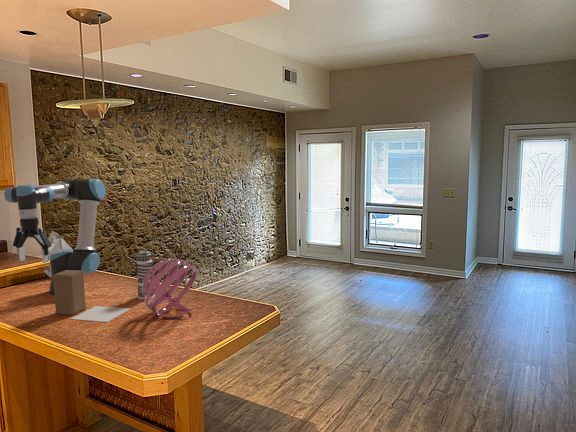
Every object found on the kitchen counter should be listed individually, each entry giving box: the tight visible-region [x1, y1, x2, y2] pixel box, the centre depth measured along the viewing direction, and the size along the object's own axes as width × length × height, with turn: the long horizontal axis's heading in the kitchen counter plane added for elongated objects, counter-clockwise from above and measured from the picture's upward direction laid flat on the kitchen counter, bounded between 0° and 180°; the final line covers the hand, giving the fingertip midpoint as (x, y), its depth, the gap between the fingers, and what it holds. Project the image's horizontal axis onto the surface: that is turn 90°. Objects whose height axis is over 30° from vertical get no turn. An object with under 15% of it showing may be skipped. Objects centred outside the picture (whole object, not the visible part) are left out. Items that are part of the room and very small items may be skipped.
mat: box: [70, 305, 131, 323], centre depth 212 cm, size 18×20×1 cm
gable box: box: [40, 230, 74, 279], centre depth 287 cm, size 22×13×28 cm, turn 42°
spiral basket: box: [142, 257, 198, 319], centre depth 209 cm, size 28×28×27 cm
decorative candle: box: [134, 250, 155, 300], centre depth 235 cm, size 9×9×25 cm
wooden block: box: [53, 270, 87, 316], centre depth 214 cm, size 10×10×20 cm
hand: (34, 261), depth 210 cm, fingers open, 13 cm apart
